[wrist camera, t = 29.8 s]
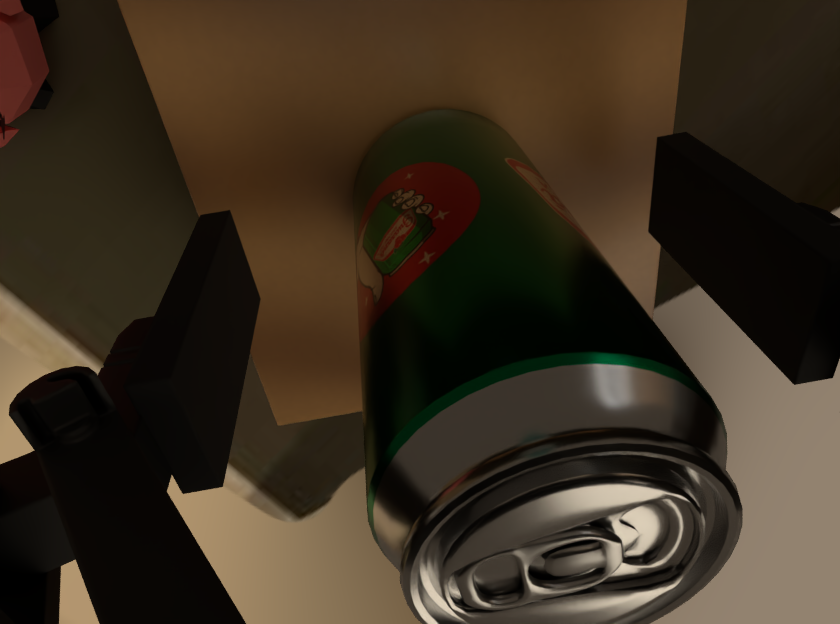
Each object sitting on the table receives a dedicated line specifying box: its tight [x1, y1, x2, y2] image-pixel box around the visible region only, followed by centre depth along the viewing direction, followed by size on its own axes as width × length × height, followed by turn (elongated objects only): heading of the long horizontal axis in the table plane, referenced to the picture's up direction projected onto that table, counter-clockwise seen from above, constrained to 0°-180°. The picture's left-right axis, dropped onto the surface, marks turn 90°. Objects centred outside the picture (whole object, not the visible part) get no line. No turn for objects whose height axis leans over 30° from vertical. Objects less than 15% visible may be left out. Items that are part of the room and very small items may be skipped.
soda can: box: [353, 109, 742, 624], centre depth 12 cm, size 5×5×12 cm
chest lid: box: [117, 0, 687, 426], centre depth 17 cm, size 17×14×1 cm
